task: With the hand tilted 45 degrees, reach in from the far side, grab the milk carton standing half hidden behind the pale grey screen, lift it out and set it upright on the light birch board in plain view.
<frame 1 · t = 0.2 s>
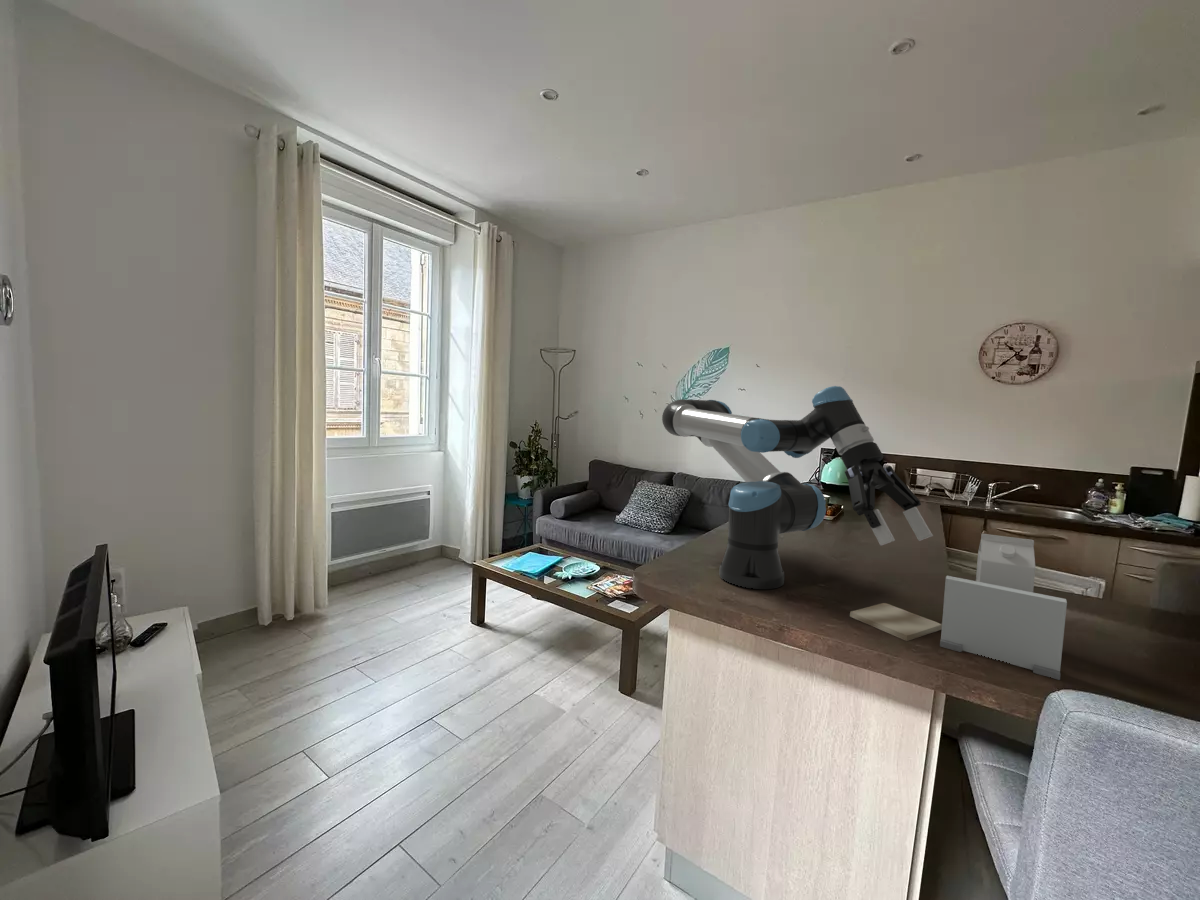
hand: (907, 540, 92), 15 cm above the table, tool tilted 35°, fingers open, 13 cm apart
milk carton: (998, 640, 84), on the table
birch board: (894, 622, 90), on the table
grey screen: (996, 657, 78), on the table
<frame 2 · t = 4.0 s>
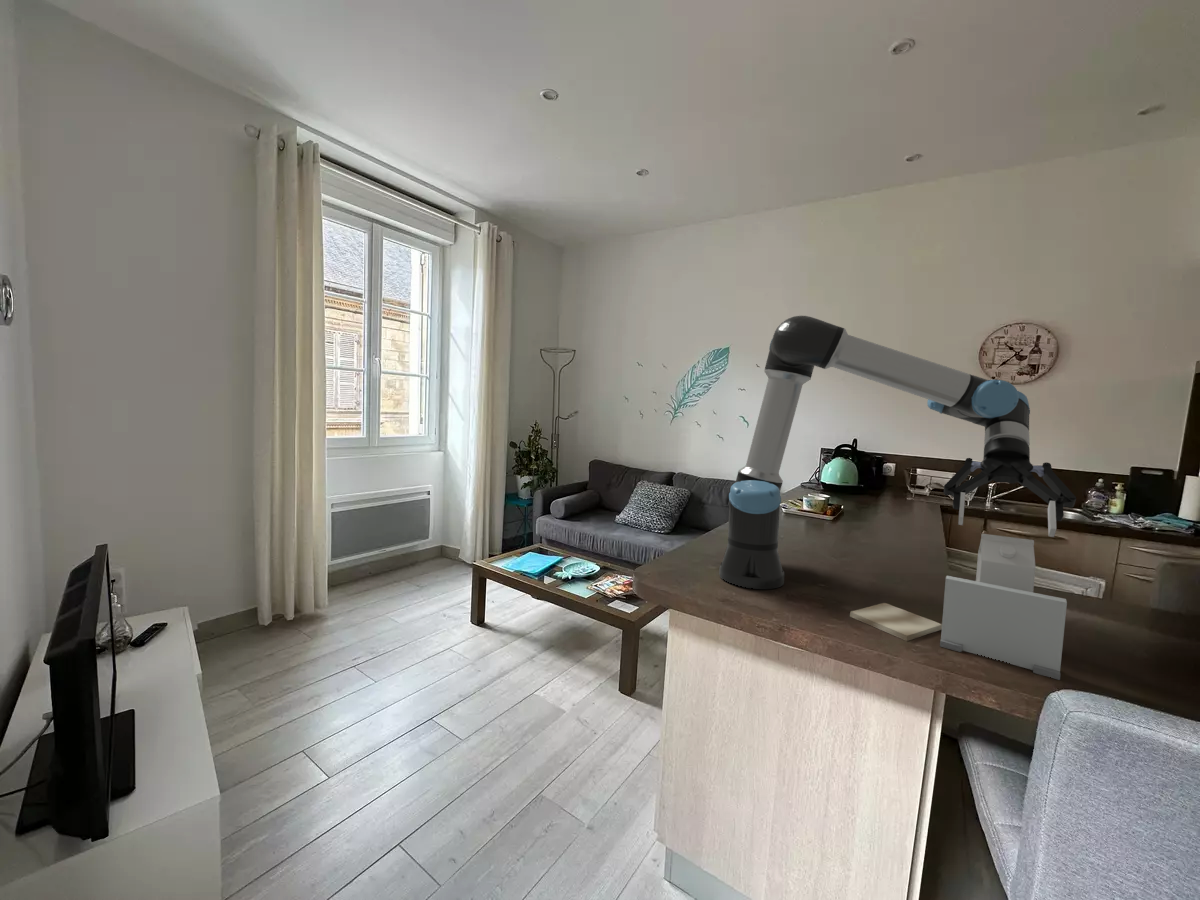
hand: (1004, 526, 91), 19 cm above the table, tool tilted 45°, fingers open, 13 cm apart
nothing on the table moved.
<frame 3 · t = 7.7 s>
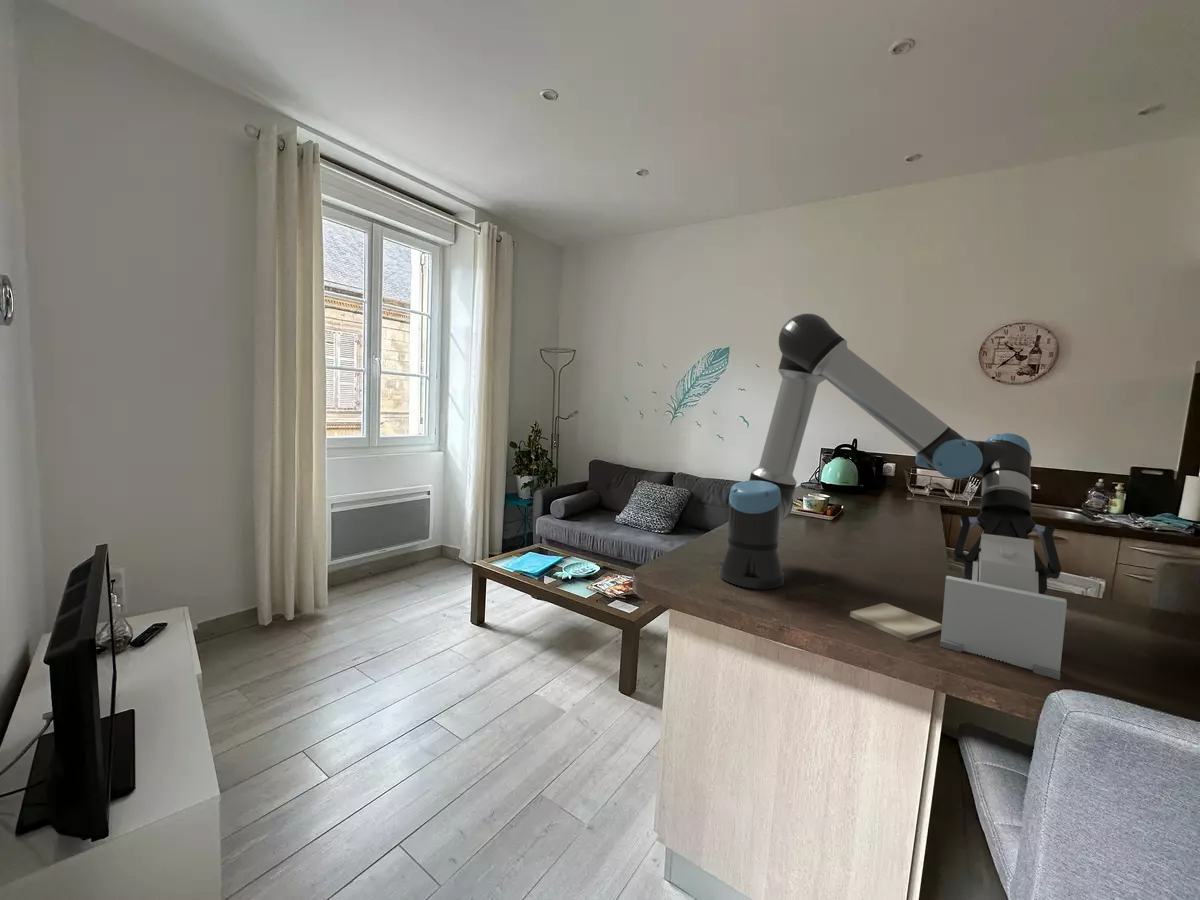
hand: (1003, 602, 81), 8 cm above the table, tool tilted 45°, fingers closed on milk carton, 7 cm apart
milk carton: (998, 640, 84), on the table, touching gripper
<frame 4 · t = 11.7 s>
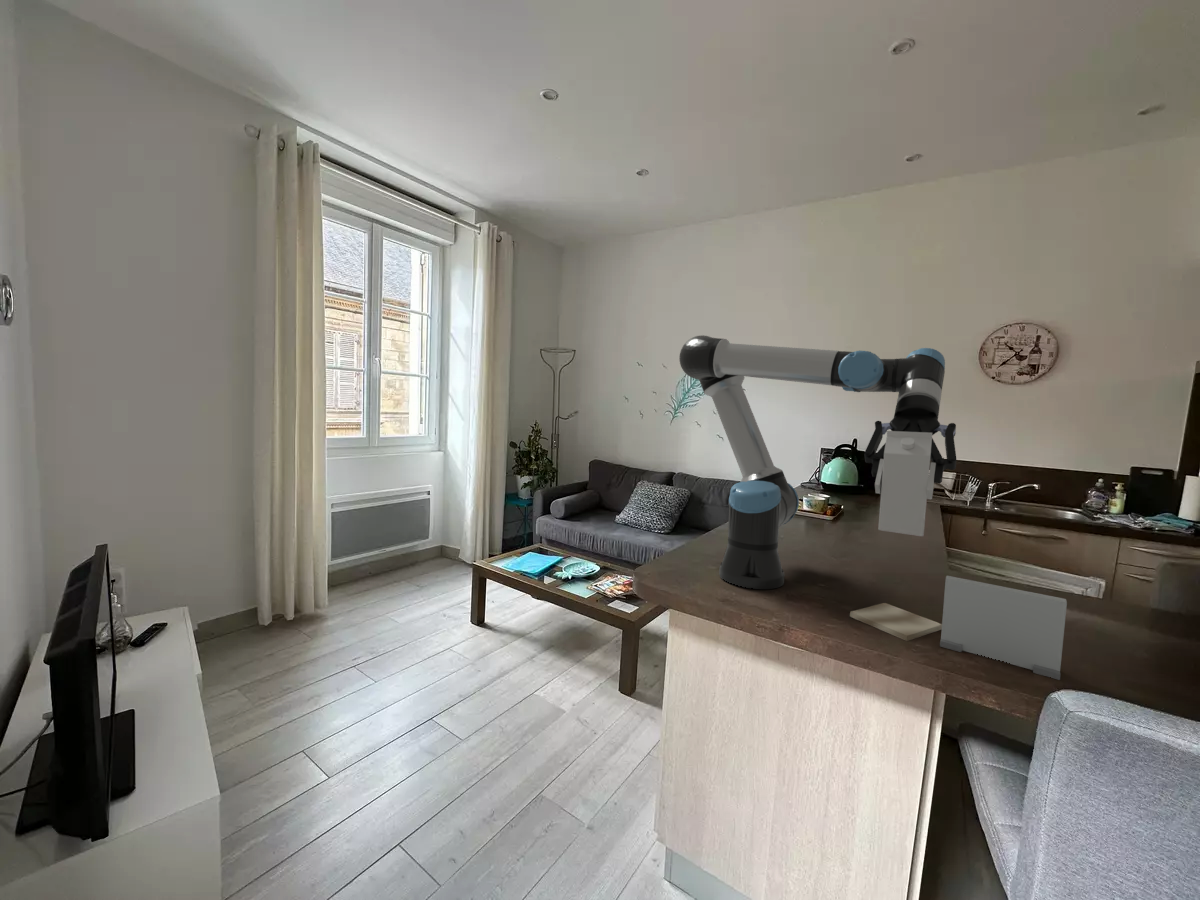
hand: (902, 491, 85), 26 cm above the table, tool tilted 45°, fingers closed on milk carton, 7 cm apart
milk carton: (901, 531, 89), point 18 cm above the table, touching gripper
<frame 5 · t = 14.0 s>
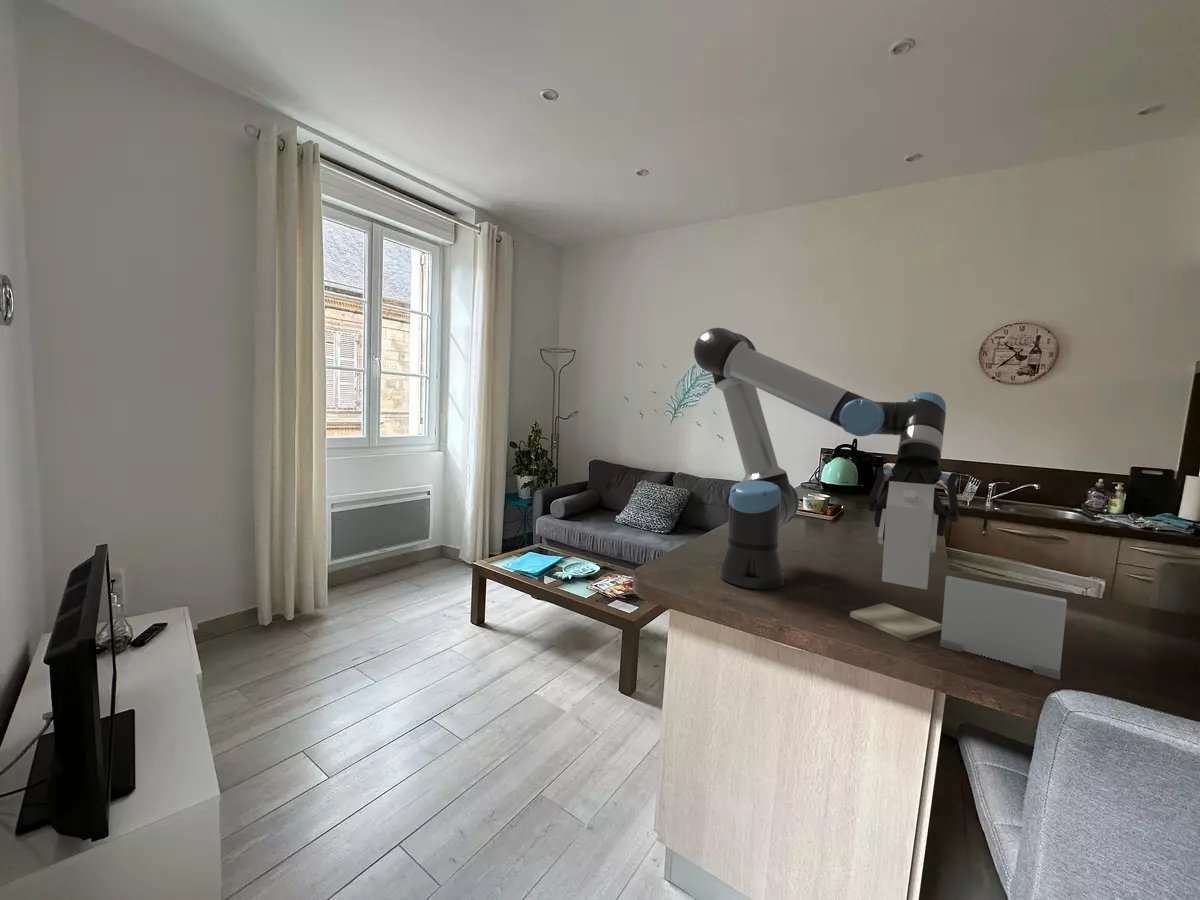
hand: (905, 544, 85), 17 cm above the table, tool tilted 45°, fingers closed on milk carton, 7 cm apart
milk carton: (904, 581, 89), point 8 cm above the table, touching gripper
when the fingers open (10 cm above the table, at t = 16.0 s): milk carton drops 1 cm, resting on birch board.
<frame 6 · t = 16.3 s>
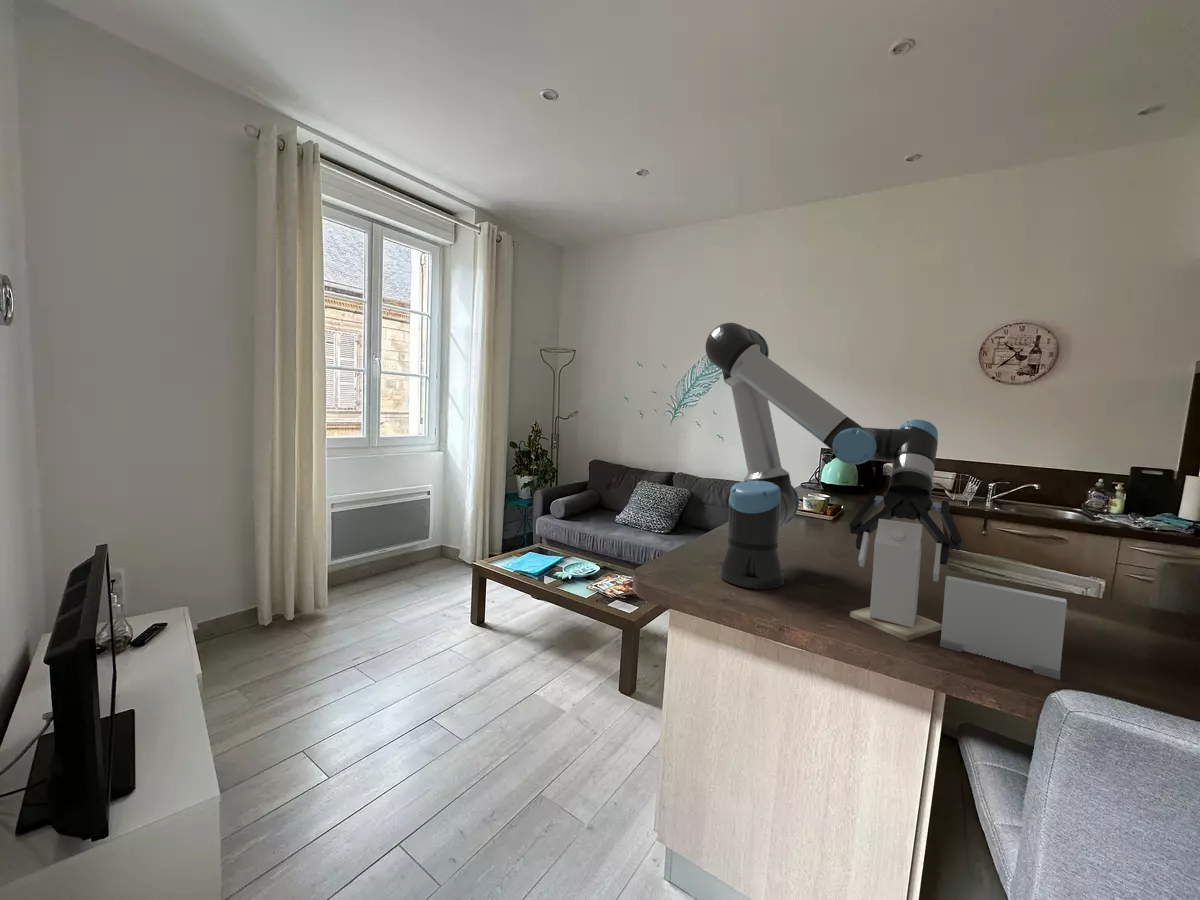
hand: (896, 570, 87), 11 cm above the table, tool tilted 45°, fingers open, 11 cm apart
milk carton: (892, 618, 90), point 1 cm above the table, touching birch board
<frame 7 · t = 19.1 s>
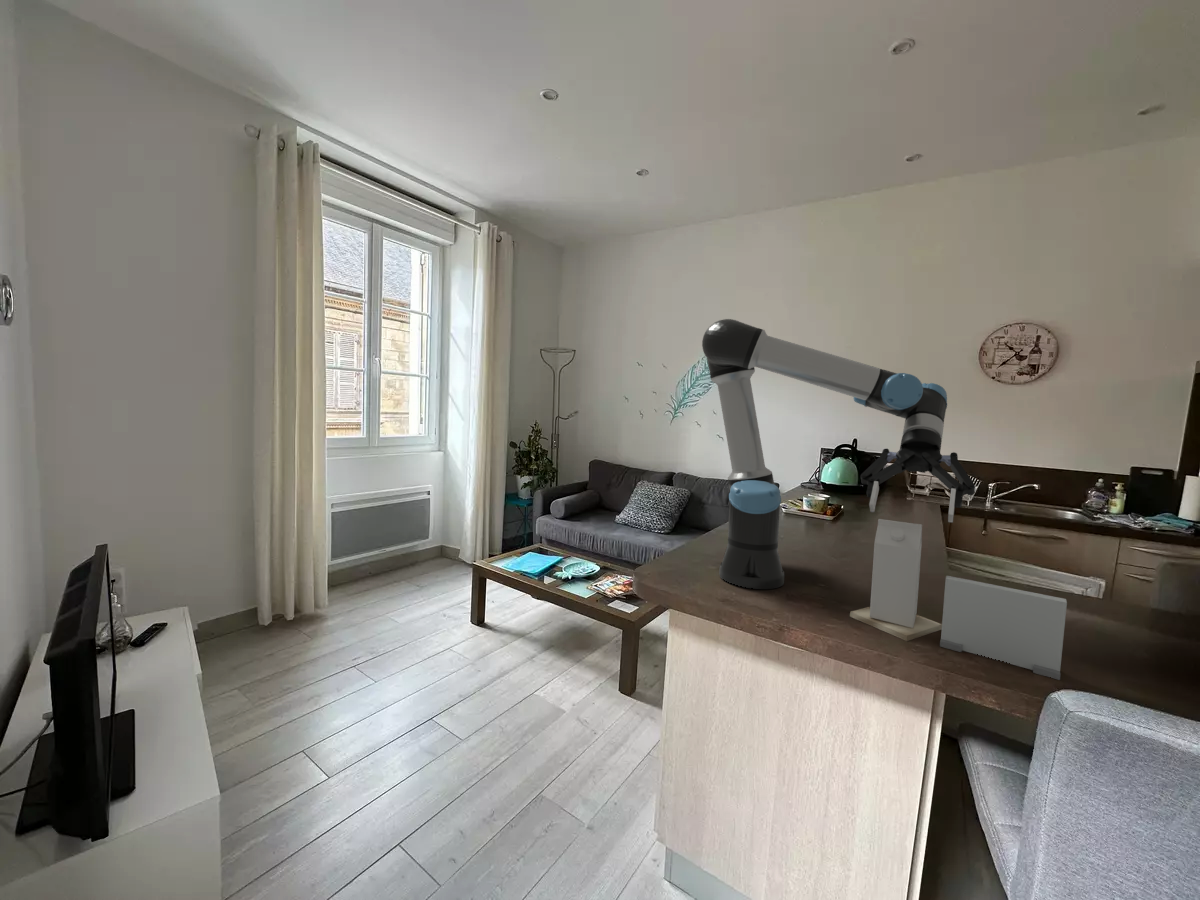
hand: (909, 513, 95), 20 cm above the table, tool tilted 45°, fingers open, 13 cm apart
nothing on the table moved.
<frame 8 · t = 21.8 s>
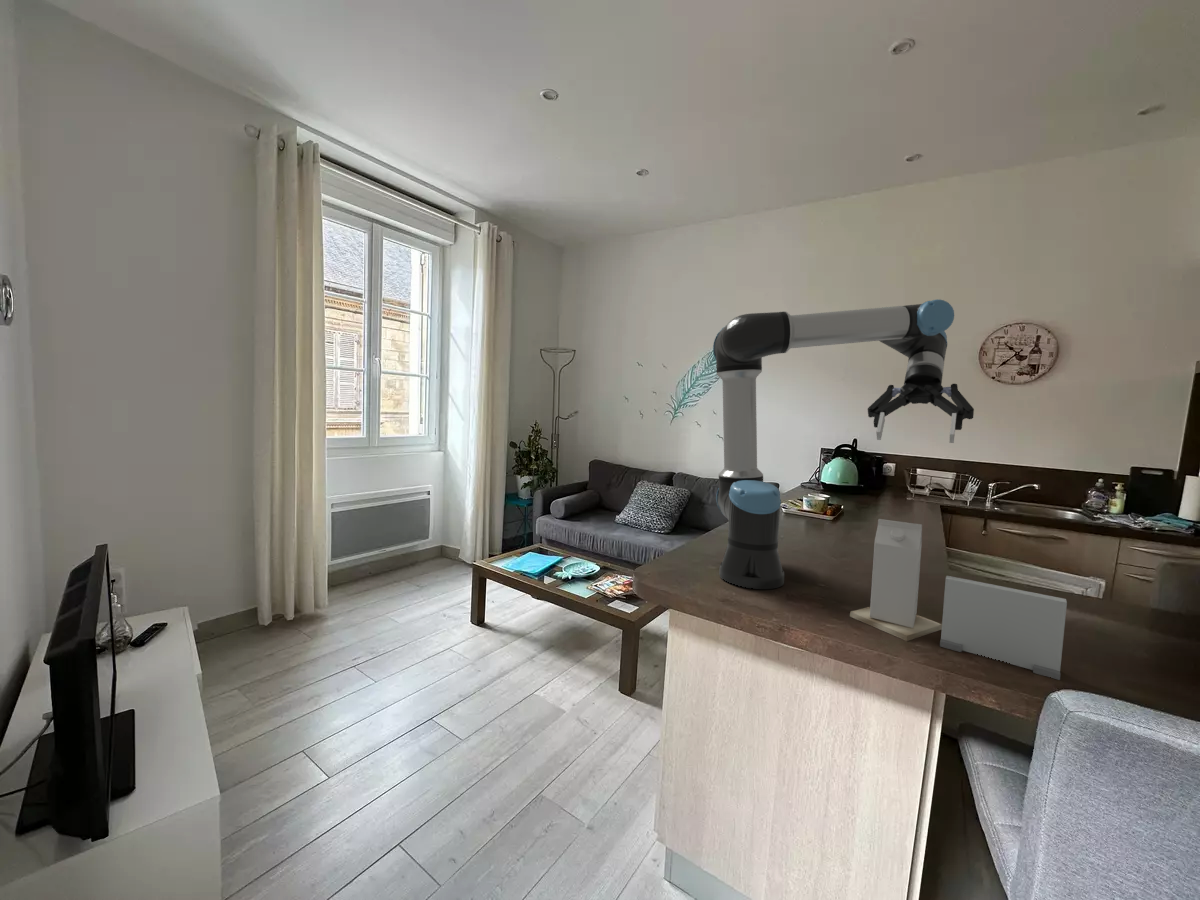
hand: (913, 437, 103), 36 cm above the table, tool tilted 45°, fingers open, 13 cm apart
nothing on the table moved.
at the end: milk carton inside the target area on the birch board (0.3 cm from its centre), point 0.8 cm above the birch board's base; milk carton tilted 0°; the gripper is holding nothing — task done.
